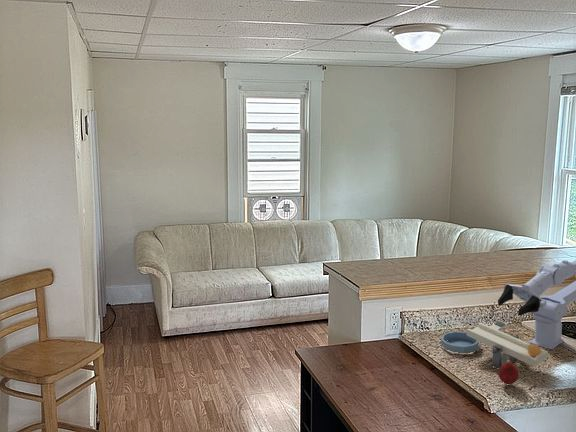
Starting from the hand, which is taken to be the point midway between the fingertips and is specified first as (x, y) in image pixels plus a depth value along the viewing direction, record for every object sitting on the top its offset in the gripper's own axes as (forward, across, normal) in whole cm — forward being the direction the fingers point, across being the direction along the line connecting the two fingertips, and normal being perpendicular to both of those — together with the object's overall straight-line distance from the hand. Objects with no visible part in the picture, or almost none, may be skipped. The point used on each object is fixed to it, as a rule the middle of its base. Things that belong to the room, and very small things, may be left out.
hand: (508, 307), depth 185 cm
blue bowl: (+10, -13, +19) cm, 25 cm away
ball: (+3, +12, +8) cm, 15 cm away
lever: (+1, +2, +13) cm, 13 cm away
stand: (+7, +4, +16) cm, 18 cm away
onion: (+18, +13, +12) cm, 25 cm away
